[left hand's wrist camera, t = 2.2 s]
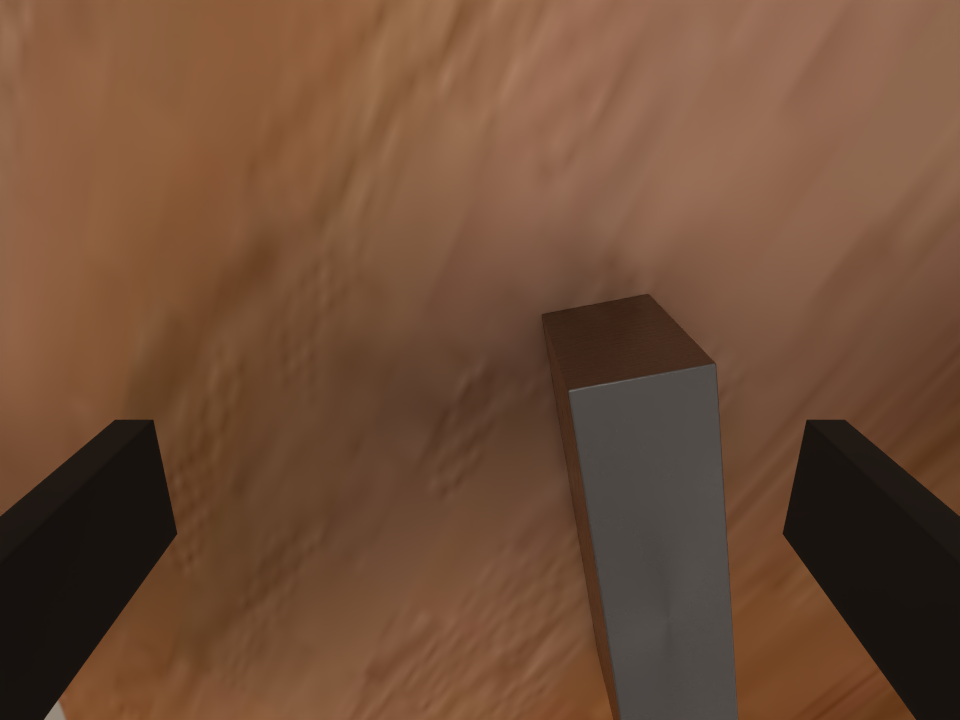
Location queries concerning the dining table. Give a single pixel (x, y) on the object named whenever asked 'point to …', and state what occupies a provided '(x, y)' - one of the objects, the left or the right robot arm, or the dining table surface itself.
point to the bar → (647, 506)
